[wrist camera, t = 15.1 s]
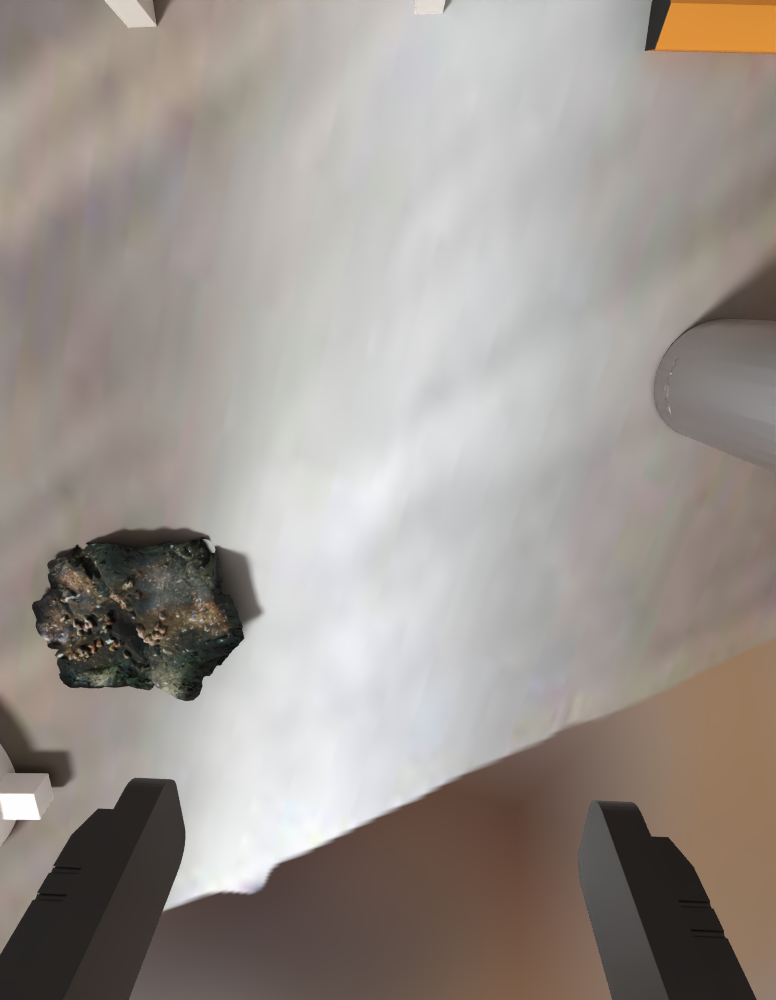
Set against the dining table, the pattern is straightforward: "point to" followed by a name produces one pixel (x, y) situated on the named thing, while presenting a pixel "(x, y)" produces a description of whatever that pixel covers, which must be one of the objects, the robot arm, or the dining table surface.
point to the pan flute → (712, 26)
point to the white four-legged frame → (138, 11)
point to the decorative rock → (138, 617)
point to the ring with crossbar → (21, 795)
